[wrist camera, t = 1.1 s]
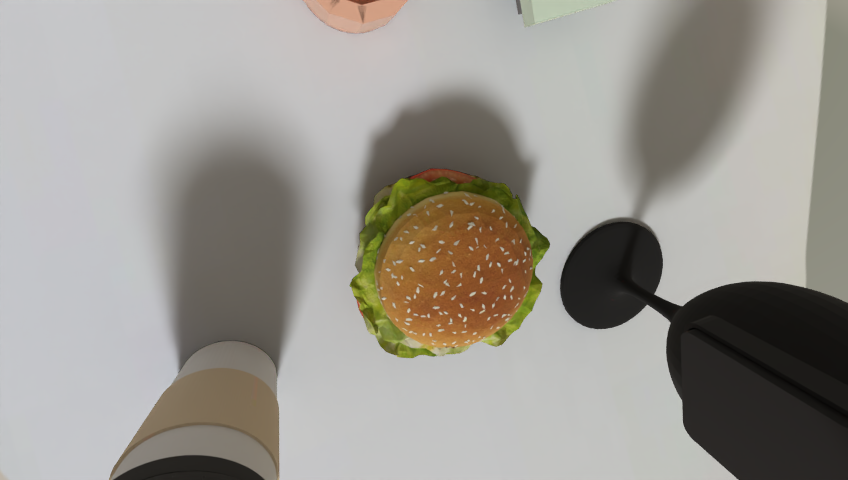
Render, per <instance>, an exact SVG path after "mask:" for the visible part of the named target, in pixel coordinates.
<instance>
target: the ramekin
mask: <svg viewBox="0 0 848 480" xmlns="http://www.w3.org/2000/svg"><path fill="white" fill-rule="evenodd" d="M303 1H304V2H305V3H306V5H307V6H308V8H309V9H310V10H311V11H312V12H313V14H314V15H315V16H316V17H318V18H319V19H320V20H321V21H322V22H324V23H325V24H327V25H328V26H330V27H332V28H334V29H337V30H339V31H343V32H347V33H356V34H357V33H365V32H369V31H372V30H375V29H377V28H379V27H382V26H385V25H386V24H387V23H388V22H389V21H390V20H391V19H392V18H393V17H394V16H395V14H396V13H397V12H398V11H399V10H400V9H401V7H402V6H403V5H404V4H405V3H406V2H407V1H408V0H303Z"/></svg>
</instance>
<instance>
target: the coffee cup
mask: <svg viewBox="0 0 848 480" xmlns="http://www.w3.org/2000/svg"><path fill="white" fill-rule="evenodd" d="M109 480H279V406H278V402H277V372H276V368H275V365H274V363H273V361H272V360H271V358H270V357H269V356H268V355H267V354H266V353H265V352H264V351H262V350H261V349H259V348H258V347H256V346H254V345H251V344H248V343H244V342H239V341H223V342H217V343H214V344H210V345H208V346H205V347H203V348H202V349H200V350H198V351H197V352H195V353H194V354H193V355H192V356H191V357H190V358H189V359H188V360H187V361H186V363H185V364H184V366H183V367H182V369H181V371H180V372H179V374H178V375H177V377H176V378H175V380H174V381H173V383H172V384H171V386H170V387H169V388H167V389H166V391H165V392H164V393H163V394H162V396H161V397H160V398H159V400H158V401H157V403H156V404H155V406H154V407H153V409H152V410H151V412H150V413H149V415H148V416H147V418H146V419H145V421H144V422H143V424H142V425H141V427H140V428H139V430H138V431H137V433H136V434H135V436H134V437H133V439H132V441H131V442H130V444H129V445H128V447H127V448H126V450H125V451H124V453H123V454H122V456H121V457H120V459H119V460H118V462H117V463H116V465H115V466H114V468H113V470H112V472H111V475H110V478H109Z"/></svg>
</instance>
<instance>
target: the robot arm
mask: <svg viewBox="0 0 848 480" xmlns="http://www.w3.org/2000/svg"><path fill="white" fill-rule="evenodd" d="M681 367H682V402H683V424H684V427H685V429H686V431H687V433H688V434H689V435H690V437H691V438H692V439H693V440H694V441H695V442H696V443H698V444H699V445H700V446H701V447H702V448H703V449H704V450H706V451H707V452H708V453H709V454H710V455H711V456H712V457H713V458H715V459H716V460H717V461H718V462H719V463H720V464H721V465H722V466H724V467H725V468H726V469H727V470H728V471H729V472H730V473H732V474H733V475H734V476H735V477H736V478H737V479H738V480H848V385H846V384H844V383H842V382H840V381H838V380H837V379H835V378H833V377H831V376H829V375H827V374H825V373H823V372H821V371H820V370H818V369H816V368H814V367H812V366H810V365H808V364H806V363H804V362H802V361H801V360H799V359H797V358H795V357H793V356H791V355H789V354H787V353H785V352H784V351H782V350H780V349H778V348H776V347H774V346H772V345H770V344H768V343H766V342H765V341H763V340H761V339H759V338H757V337H755V336H753V335H751V334H749V333H748V332H746V331H744V330H742V329H740V328H738V327H736V326H734V325H732V324H730V323H729V322H727V321H725V320H723V319H721V318H719V317H716V316H711V315H709V316H707V317H704V318H702V319H699V320H697V321H694V322H691V323H689V324H687V325H686V326H685V328H684V333H683V334H682V335H681Z"/></svg>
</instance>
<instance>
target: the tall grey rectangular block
mask: <svg viewBox="0 0 848 480" xmlns="http://www.w3.org/2000/svg"><path fill="white" fill-rule="evenodd" d="M516 3H517V9H518V14H522V9H521V3H520V0H516Z"/></svg>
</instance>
